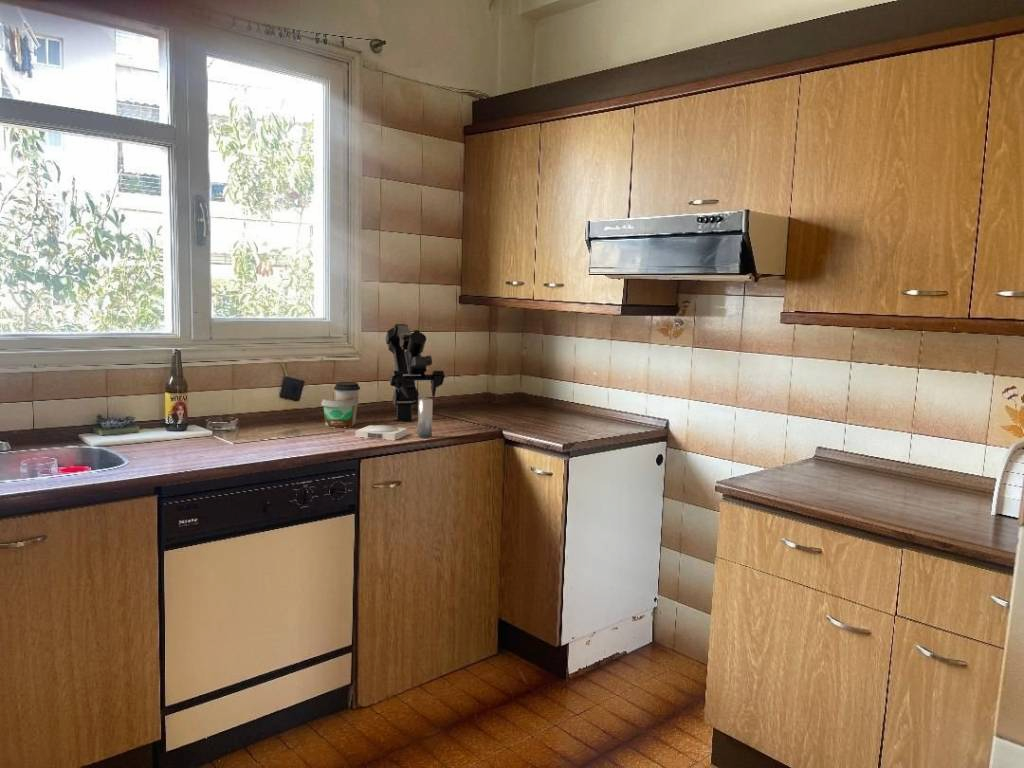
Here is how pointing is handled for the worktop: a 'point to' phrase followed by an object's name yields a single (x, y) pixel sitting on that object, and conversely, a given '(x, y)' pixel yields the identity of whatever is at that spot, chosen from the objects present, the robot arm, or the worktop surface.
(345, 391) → the coffee cup
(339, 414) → the food container
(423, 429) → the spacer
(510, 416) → the worktop surface
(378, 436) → the scale
